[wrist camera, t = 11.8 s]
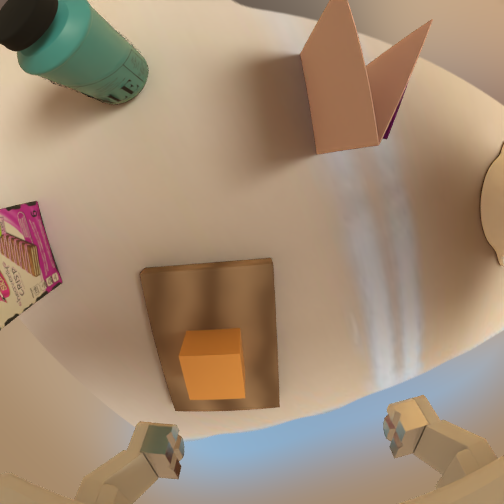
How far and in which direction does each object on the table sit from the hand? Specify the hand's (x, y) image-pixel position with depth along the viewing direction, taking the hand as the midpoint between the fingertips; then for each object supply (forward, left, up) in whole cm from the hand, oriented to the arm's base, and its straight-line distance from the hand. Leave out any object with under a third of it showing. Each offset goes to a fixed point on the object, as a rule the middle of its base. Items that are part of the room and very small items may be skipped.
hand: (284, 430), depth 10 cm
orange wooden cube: (+5, +11, -21) cm, 24 cm away
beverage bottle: (+13, -21, -24) cm, 34 cm away
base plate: (+6, +10, -23) cm, 26 cm away
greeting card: (-7, -17, -24) cm, 30 cm away
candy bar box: (+28, -4, -24) cm, 36 cm away
